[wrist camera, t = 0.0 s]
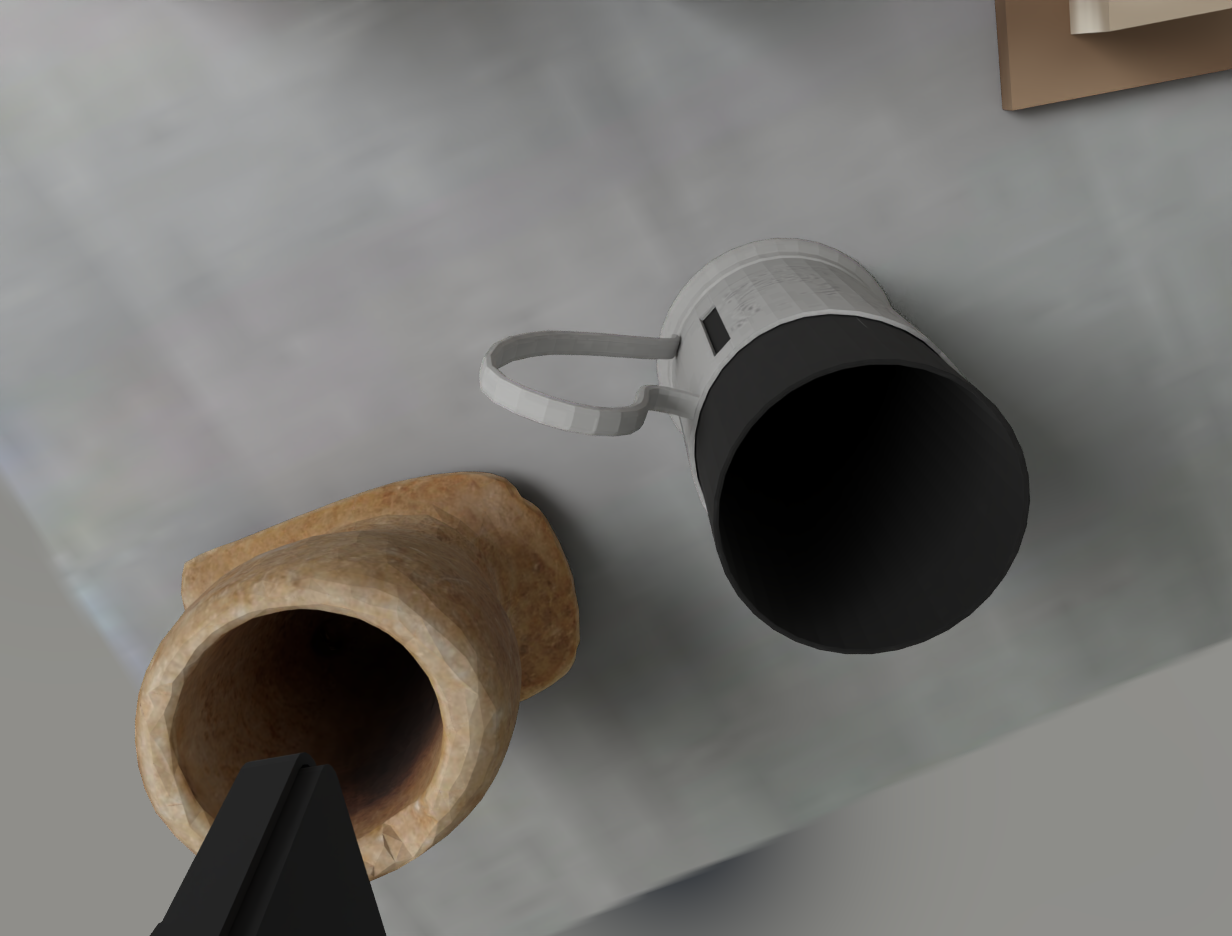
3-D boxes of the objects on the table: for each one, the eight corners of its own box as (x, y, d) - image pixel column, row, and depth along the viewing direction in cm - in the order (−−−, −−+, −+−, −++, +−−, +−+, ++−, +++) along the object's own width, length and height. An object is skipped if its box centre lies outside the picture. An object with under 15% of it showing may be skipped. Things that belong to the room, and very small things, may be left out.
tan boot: (508, 381, 42) (460, 542, 27) (609, 661, 45) (613, 931, 31) (122, 502, 43) (-114, 716, 29) (251, 764, 47) (98, 1068, 32)
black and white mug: (853, 501, 43) (976, 713, 29) (483, 404, 42) (423, 577, 28) (936, 276, 40) (1116, 388, 26) (543, 164, 39) (510, 218, 25)
